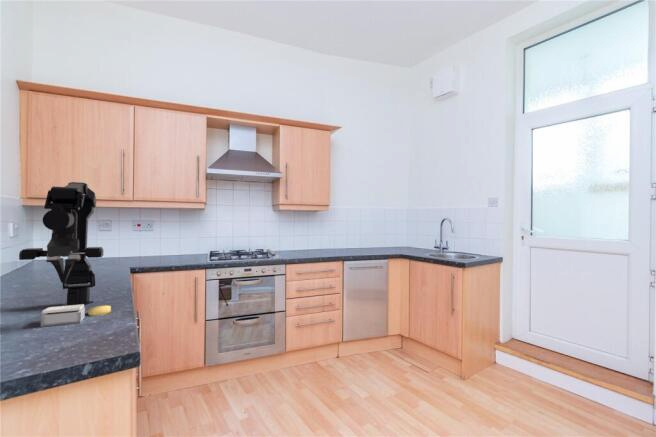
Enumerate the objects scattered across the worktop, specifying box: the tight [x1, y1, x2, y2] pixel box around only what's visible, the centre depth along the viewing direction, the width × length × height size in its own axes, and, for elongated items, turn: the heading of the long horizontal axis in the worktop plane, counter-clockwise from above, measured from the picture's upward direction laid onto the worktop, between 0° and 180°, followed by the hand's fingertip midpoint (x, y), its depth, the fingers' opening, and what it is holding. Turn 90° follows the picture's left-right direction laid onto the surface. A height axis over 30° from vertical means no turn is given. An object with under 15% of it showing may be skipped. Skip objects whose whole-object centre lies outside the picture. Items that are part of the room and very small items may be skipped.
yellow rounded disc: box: [87, 304, 112, 317], centre depth 107 cm, size 6×6×2 cm
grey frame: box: [40, 306, 86, 328], centre depth 97 cm, size 7×9×3 cm
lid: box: [41, 304, 85, 315], centre depth 97 cm, size 7×9×1 cm
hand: (63, 282), depth 97 cm, fingers closed
